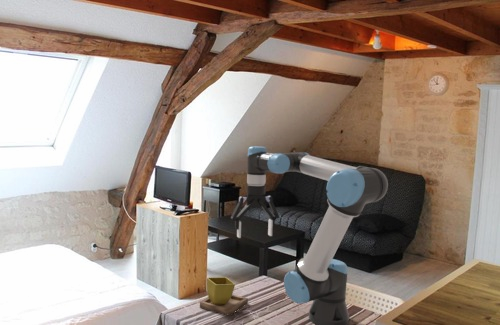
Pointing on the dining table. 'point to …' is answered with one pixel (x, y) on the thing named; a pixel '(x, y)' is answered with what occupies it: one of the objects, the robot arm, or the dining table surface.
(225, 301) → the flower pot
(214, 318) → the dining table surface
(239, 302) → the walnut tray
